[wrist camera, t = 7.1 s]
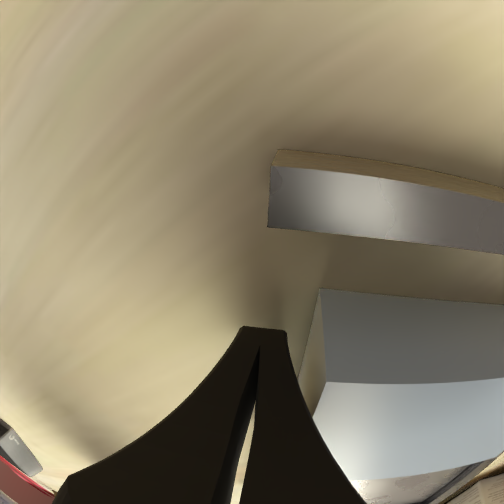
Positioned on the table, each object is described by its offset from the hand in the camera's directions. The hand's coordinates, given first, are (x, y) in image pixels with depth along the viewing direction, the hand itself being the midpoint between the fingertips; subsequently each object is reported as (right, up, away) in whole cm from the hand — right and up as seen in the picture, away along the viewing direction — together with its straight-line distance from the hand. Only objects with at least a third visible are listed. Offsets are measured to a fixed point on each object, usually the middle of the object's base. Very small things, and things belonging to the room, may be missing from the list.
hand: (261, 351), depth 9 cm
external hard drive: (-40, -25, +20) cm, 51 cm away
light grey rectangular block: (+7, -1, +1) cm, 7 cm away
